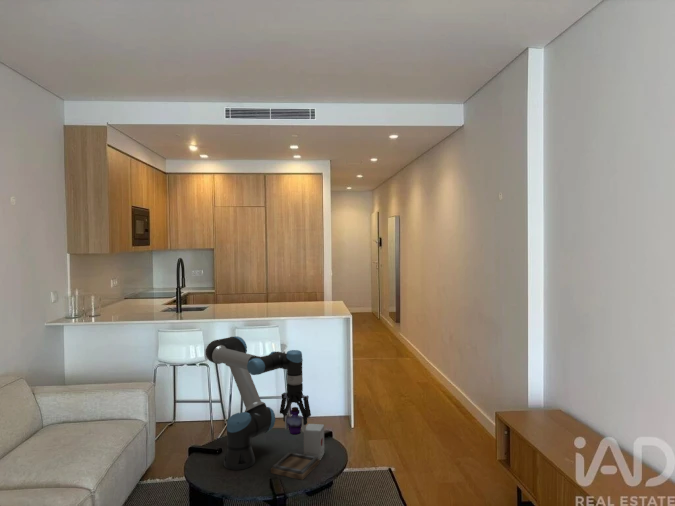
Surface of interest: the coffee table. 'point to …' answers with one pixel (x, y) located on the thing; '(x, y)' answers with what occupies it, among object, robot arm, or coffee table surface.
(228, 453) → the robot arm
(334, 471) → the coffee table surface
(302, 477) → the jig plate
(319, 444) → the supplement box
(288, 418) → the potion bottle
